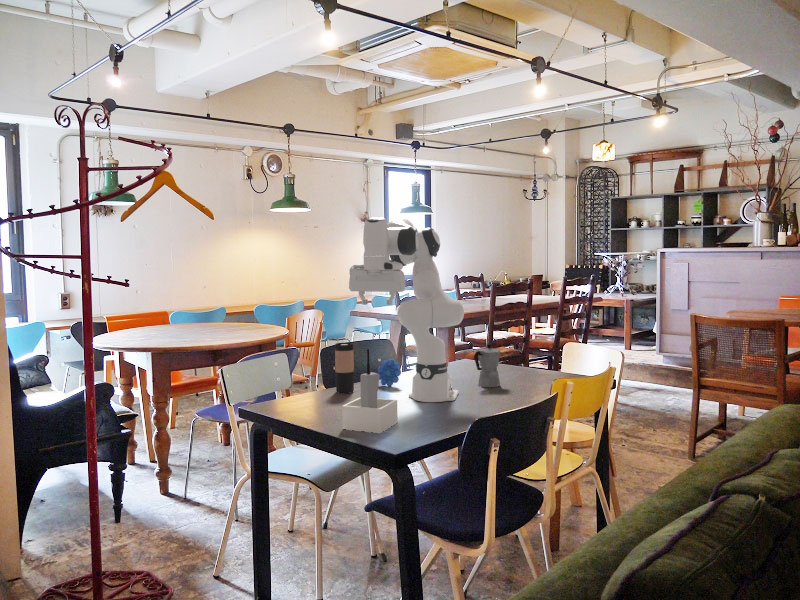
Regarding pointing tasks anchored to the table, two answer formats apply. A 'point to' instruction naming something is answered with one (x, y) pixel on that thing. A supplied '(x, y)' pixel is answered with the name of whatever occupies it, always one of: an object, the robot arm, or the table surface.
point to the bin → (369, 416)
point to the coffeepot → (488, 366)
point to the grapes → (389, 372)
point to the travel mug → (344, 367)
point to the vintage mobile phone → (369, 387)
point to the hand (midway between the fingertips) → (377, 304)
